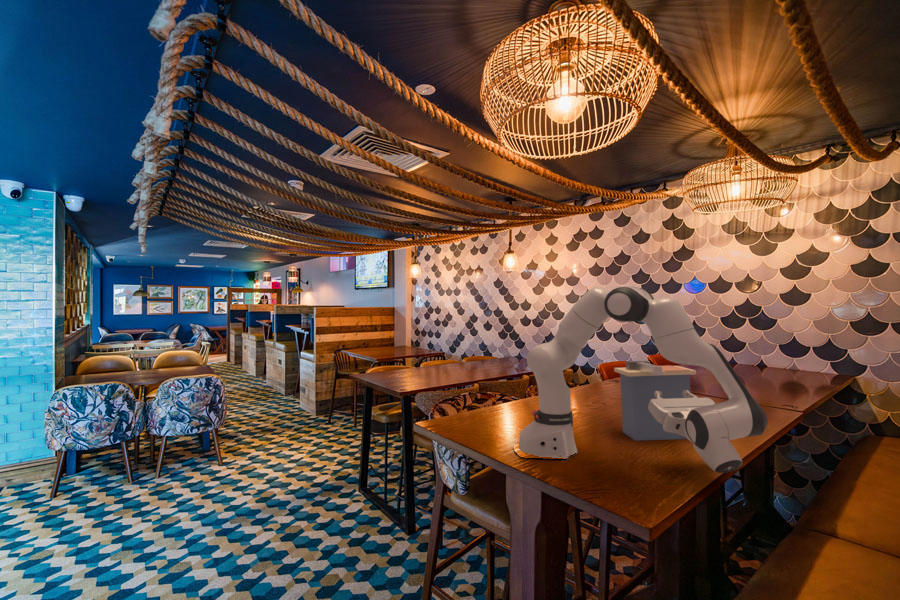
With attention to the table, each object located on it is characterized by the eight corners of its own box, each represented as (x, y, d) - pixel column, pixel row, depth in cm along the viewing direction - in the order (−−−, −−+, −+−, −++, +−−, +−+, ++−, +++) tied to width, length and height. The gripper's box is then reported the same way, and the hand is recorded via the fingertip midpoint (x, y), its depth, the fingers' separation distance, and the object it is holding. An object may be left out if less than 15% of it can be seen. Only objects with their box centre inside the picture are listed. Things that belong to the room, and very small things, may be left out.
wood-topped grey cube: (631, 441, 141) (628, 372, 142) (616, 431, 153) (614, 367, 154) (699, 439, 141) (696, 369, 142) (680, 429, 153) (676, 365, 154)
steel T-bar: (647, 375, 134) (646, 367, 134) (625, 369, 150) (625, 361, 150) (669, 375, 134) (668, 366, 134) (645, 368, 150) (645, 360, 150)
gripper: (732, 414, 113) (703, 383, 125) (664, 416, 113) (643, 385, 125) (725, 429, 116) (698, 398, 128) (659, 431, 116) (638, 399, 128)
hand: (670, 391), depth 127 cm, fingers open, 8 cm apart
